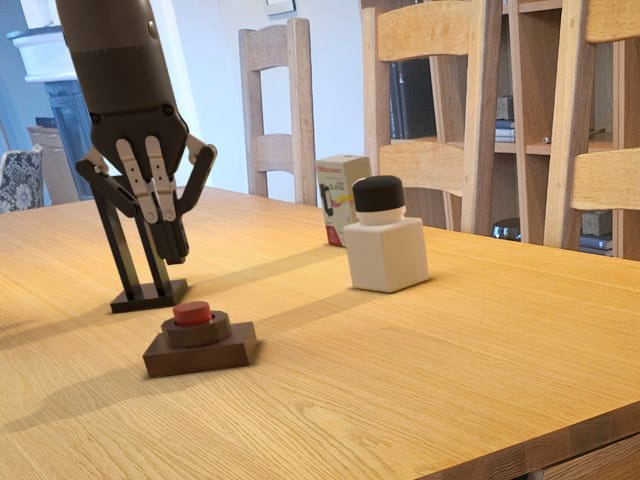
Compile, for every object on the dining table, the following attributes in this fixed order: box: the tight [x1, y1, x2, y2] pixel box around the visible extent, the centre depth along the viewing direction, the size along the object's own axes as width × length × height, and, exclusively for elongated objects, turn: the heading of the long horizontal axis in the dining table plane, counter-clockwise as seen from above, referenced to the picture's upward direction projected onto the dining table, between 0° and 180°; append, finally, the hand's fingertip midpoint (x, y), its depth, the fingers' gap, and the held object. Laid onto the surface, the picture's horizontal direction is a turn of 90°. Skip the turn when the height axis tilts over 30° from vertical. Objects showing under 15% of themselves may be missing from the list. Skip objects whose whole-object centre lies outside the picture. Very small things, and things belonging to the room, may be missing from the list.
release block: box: [141, 309, 258, 379], centre depth 85 cm, size 10×8×4 cm
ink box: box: [313, 153, 373, 248], centre depth 126 cm, size 9×5×12 cm, turn 40°
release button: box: [171, 300, 213, 326], centre depth 83 cm, size 4×4×2 cm
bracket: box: [88, 174, 189, 314], centre depth 106 cm, size 10×8×15 cm
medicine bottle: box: [343, 174, 430, 294], centre depth 102 cm, size 7×7×12 cm
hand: (176, 262), depth 80 cm, fingers closed
